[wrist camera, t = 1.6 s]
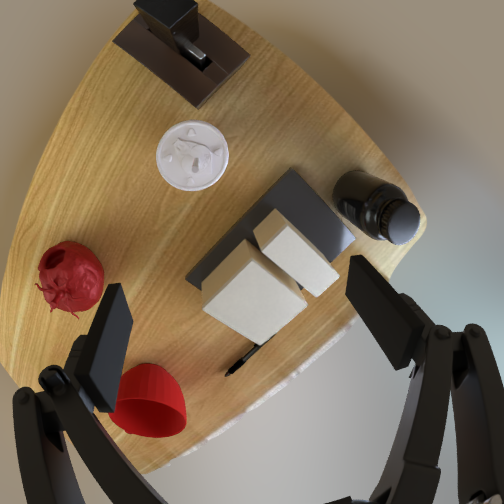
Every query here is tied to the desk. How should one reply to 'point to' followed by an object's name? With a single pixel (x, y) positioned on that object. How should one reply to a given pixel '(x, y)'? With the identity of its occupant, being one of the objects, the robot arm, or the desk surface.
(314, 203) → the cake board
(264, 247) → the cream rectangular block
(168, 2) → the knife
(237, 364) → the pen
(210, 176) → the smoothie
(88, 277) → the pomegranate
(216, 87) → the knife block
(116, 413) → the ceramic cup
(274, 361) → the desk surface
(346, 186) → the supplement bottle
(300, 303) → the cake
